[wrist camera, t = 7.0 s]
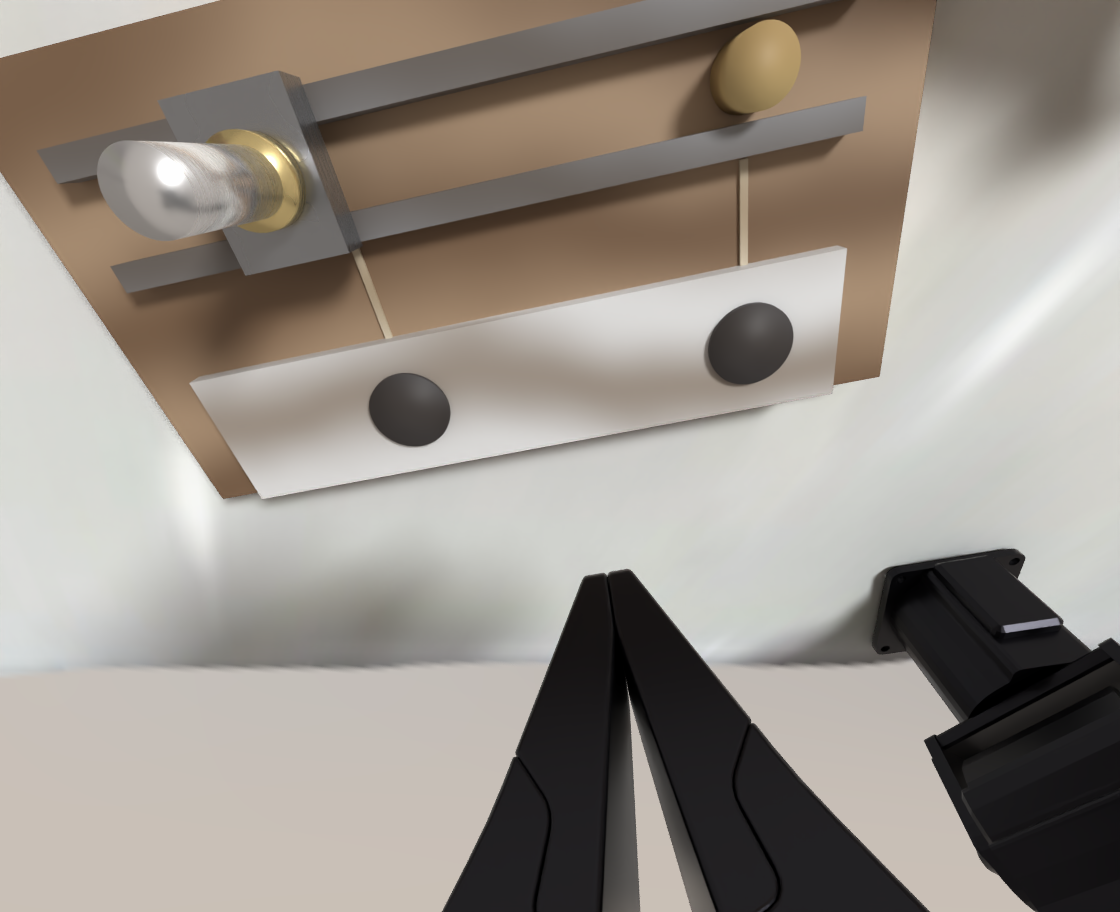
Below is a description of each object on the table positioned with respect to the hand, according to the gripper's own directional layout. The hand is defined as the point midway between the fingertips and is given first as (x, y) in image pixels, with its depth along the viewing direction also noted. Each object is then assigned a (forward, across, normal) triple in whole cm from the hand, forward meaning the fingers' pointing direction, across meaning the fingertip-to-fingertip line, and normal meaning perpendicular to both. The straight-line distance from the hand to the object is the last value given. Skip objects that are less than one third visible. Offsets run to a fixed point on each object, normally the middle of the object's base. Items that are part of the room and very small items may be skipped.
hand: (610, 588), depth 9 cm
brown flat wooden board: (+12, +2, -4) cm, 13 cm away
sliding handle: (+9, +7, -8) cm, 14 cm away
